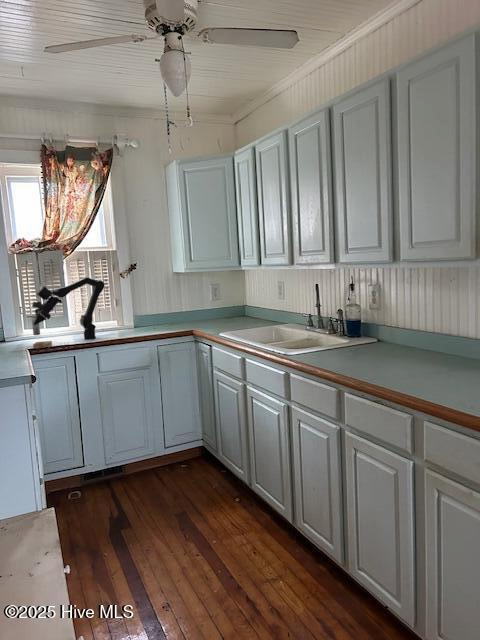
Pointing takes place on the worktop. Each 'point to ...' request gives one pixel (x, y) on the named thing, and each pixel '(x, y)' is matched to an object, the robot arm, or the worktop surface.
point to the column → (35, 327)
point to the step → (42, 344)
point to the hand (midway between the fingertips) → (33, 324)
